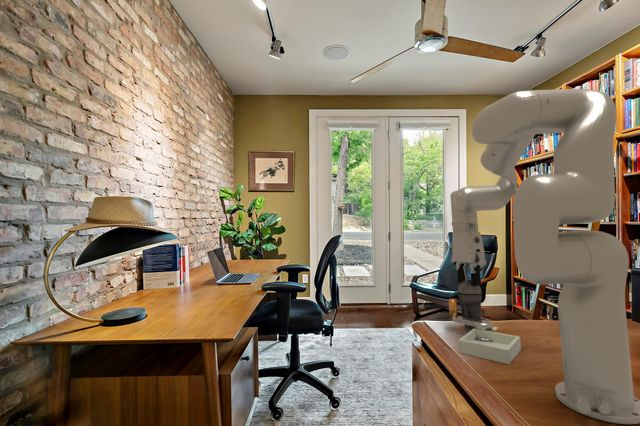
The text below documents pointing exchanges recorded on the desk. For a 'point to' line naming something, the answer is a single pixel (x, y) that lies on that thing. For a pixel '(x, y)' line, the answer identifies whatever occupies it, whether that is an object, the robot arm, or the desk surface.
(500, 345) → the tray
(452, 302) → the crank
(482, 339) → the crank base
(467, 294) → the beverage cup
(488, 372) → the desk surface
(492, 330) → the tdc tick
